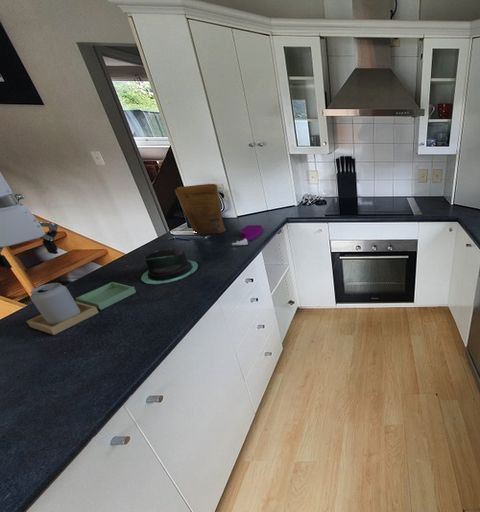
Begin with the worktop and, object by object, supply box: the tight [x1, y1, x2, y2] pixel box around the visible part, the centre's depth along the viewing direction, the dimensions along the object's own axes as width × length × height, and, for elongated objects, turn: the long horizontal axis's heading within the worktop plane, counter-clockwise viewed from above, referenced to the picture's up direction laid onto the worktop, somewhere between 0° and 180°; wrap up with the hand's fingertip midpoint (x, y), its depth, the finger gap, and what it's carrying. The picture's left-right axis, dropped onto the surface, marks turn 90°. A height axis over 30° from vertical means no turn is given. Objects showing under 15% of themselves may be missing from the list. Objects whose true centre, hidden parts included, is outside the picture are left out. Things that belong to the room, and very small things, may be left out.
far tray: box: [74, 281, 137, 311], centre depth 99 cm, size 11×11×2 cm
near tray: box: [26, 300, 100, 336], centre depth 88 cm, size 11×11×2 cm
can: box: [29, 282, 80, 325], centre depth 86 cm, size 8×8×12 cm
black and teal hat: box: [140, 248, 199, 285], centre depth 117 cm, size 15×19×20 cm
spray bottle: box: [231, 224, 264, 246], centre depth 152 cm, size 3×11×24 cm
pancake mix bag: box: [174, 183, 227, 236], centre depth 151 cm, size 7×19×28 cm, turn 112°
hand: (31, 260), depth 79 cm, fingers open, 9 cm apart
